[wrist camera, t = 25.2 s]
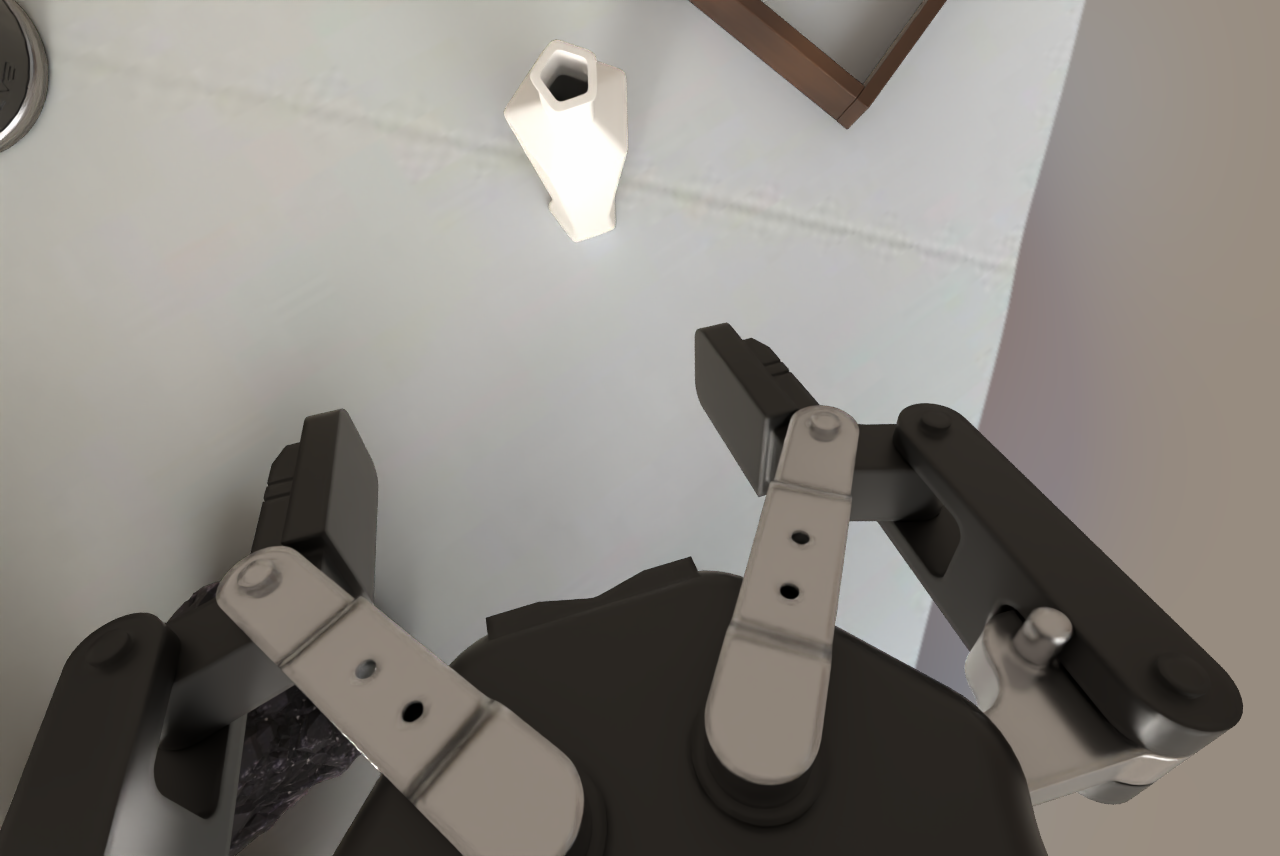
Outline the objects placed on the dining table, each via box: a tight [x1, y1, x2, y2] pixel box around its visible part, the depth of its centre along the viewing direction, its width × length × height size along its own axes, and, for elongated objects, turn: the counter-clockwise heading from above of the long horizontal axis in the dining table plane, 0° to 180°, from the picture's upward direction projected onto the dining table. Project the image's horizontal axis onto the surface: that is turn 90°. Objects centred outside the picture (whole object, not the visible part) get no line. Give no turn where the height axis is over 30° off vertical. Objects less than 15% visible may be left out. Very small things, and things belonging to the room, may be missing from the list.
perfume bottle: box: [504, 40, 628, 242], centre depth 26 cm, size 5×4×15 cm
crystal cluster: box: [168, 582, 362, 856], centre depth 31 cm, size 13×14×10 cm
